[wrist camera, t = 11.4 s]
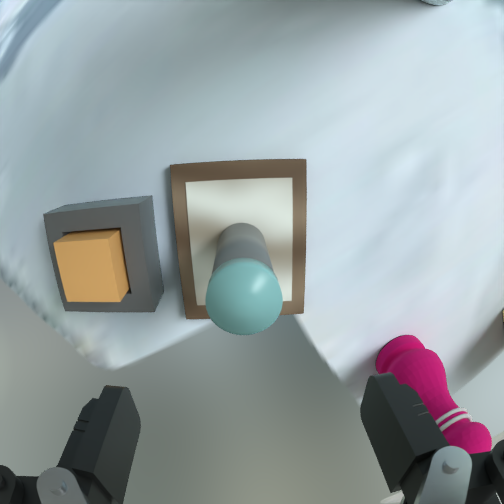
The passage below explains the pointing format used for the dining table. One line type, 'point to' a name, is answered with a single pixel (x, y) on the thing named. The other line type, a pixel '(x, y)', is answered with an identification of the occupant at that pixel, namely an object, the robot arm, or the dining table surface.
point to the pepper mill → (433, 391)
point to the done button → (93, 265)
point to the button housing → (134, 242)
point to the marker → (243, 283)
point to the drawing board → (240, 221)
